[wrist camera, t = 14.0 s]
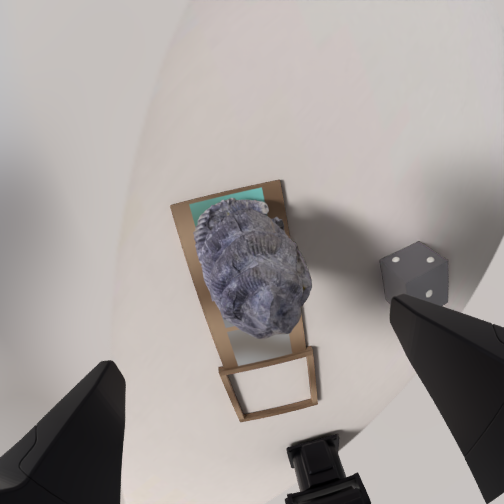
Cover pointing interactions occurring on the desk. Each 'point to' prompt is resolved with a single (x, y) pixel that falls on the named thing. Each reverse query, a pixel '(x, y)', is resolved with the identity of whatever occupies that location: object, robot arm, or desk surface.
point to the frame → (265, 363)
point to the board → (223, 332)
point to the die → (416, 274)
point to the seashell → (252, 267)
